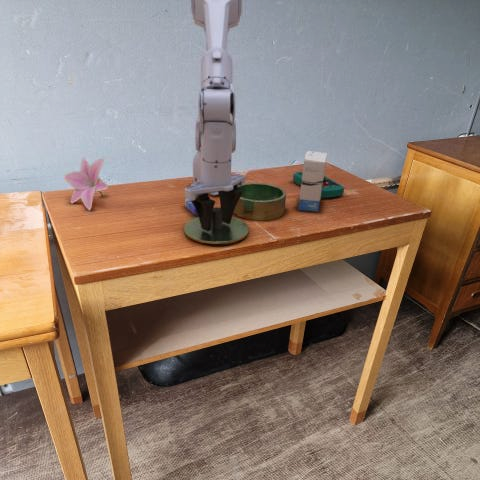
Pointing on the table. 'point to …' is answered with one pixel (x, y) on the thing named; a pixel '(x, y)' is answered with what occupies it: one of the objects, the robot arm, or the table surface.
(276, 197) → the pan
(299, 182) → the digital multimeter
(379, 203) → the table surface
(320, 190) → the ink box
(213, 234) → the pan lid
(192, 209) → the eraser
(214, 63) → the robot arm
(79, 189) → the lily
